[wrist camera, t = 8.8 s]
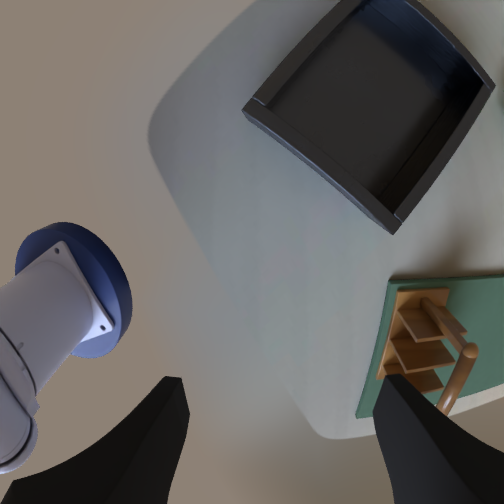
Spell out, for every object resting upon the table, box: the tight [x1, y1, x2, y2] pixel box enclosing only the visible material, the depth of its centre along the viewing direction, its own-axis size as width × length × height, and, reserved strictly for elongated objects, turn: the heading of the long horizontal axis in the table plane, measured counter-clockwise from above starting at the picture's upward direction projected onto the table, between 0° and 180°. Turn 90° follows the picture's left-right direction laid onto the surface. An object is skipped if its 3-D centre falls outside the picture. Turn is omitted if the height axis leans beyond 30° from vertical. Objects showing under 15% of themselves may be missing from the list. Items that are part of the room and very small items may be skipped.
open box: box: [242, 0, 496, 235], centre depth 13 cm, size 12×10×4 cm
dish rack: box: [376, 287, 479, 416], centre depth 16 cm, size 8×4×7 cm, turn 1°
